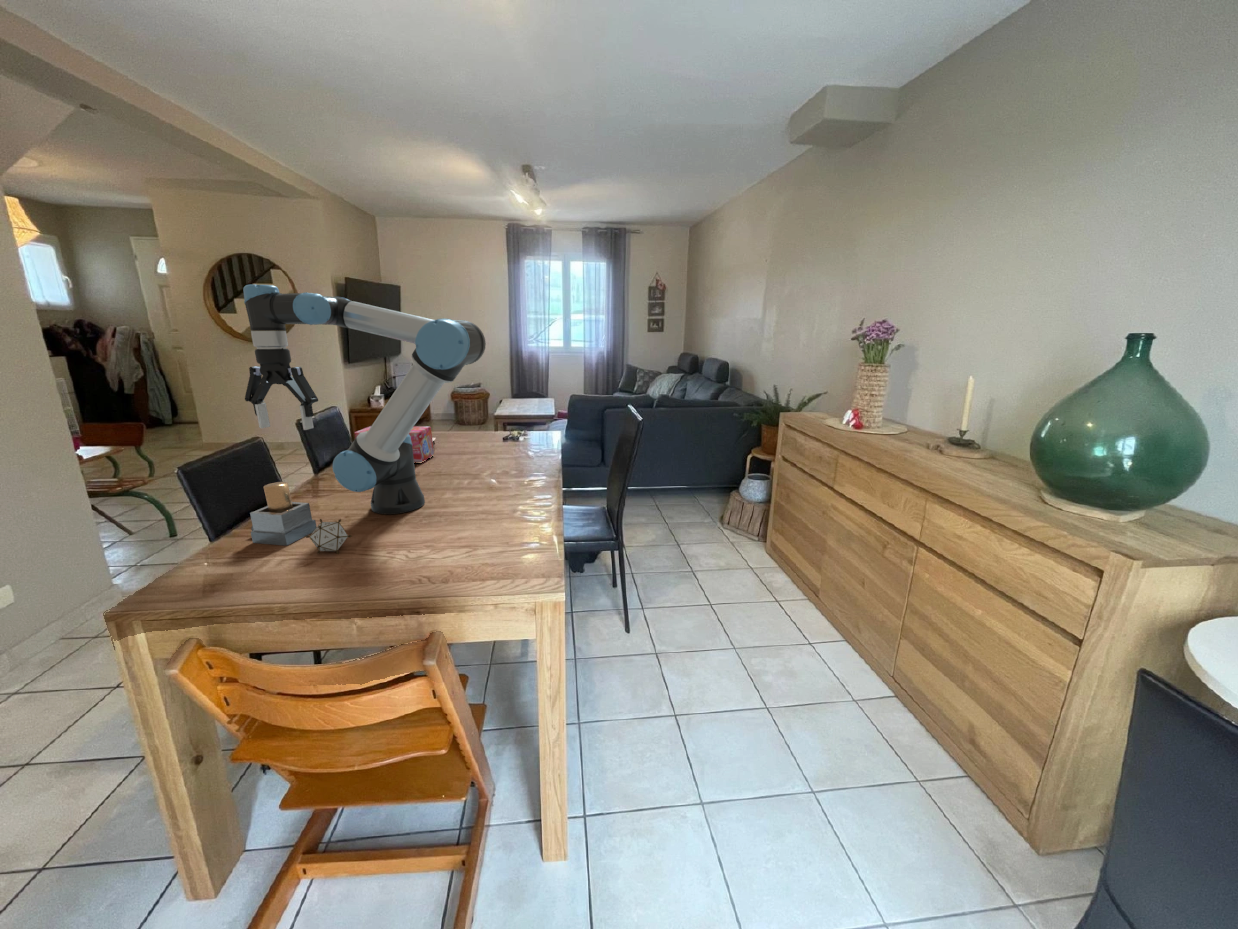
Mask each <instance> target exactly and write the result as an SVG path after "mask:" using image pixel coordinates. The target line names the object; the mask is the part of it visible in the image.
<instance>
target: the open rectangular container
mask: <svg viewBox="0 0 1238 929" xmlns="http://www.w3.org/2000/svg"><path fill="white" fill-rule="evenodd" d="M292 505H293V508H292V509H289V510H287V511H285V512H282V513H272V512H269V509H268V505H266V506H264V507H261V508H259V509H257V510H255V511H251V512H249V514H250V519H251V524H252V526H251V529H250V530H251V531H250V536H251V539H252V541H251V542H252V543H253V544H261V545H262V544H263V545H275V546H276V545H277V546H289V545H291V544H293V543H295V542H297V541H299V540H302V539H304V538H306V537H305V536H310V535H311V534H312V532H313V531H314V530H315V529H316V528H317V526H318V525H317V522H316V519H313V517H312V513H311V511H312V510H311V506H310V502H299V501H292Z"/></svg>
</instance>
